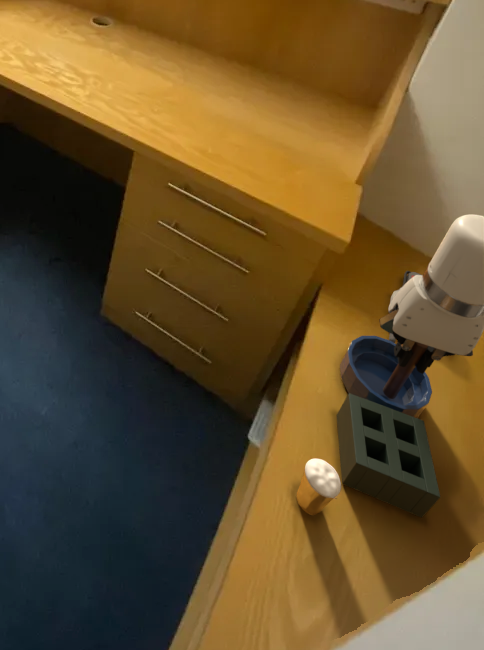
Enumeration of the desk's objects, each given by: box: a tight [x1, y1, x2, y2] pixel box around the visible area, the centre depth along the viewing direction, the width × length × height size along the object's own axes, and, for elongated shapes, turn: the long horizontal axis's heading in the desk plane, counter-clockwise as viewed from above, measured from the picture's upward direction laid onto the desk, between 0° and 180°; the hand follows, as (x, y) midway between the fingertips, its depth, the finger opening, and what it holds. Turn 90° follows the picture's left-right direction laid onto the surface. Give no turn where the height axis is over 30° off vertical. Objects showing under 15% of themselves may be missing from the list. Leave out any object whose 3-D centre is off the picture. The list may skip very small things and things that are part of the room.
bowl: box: [339, 335, 433, 419], centre depth 88 cm, size 12×12×6 cm
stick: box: [383, 342, 428, 399], centre depth 83 cm, size 2×2×15 cm
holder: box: [336, 393, 441, 518], centre depth 78 cm, size 10×10×7 cm
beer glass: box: [295, 458, 342, 516], centre depth 73 cm, size 5×5×10 cm
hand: (409, 361), depth 82 cm, fingers closed on stick, 2 cm apart
